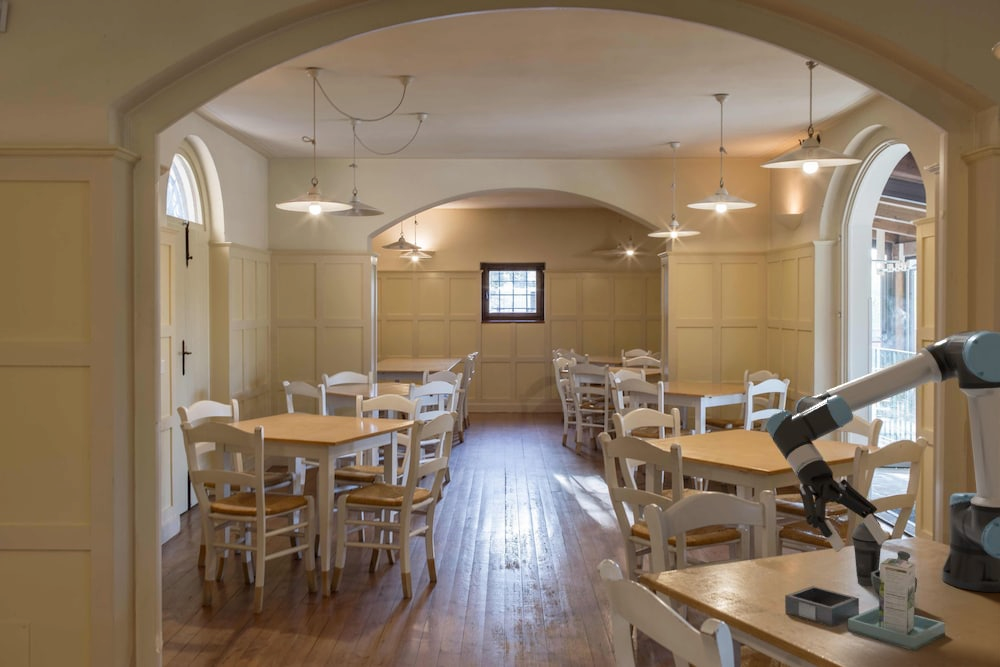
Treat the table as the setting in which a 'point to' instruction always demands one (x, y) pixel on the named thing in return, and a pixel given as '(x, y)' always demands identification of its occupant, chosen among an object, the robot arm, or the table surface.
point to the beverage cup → (865, 554)
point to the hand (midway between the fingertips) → (862, 545)
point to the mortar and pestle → (876, 574)
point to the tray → (915, 639)
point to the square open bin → (822, 605)
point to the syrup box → (897, 595)
